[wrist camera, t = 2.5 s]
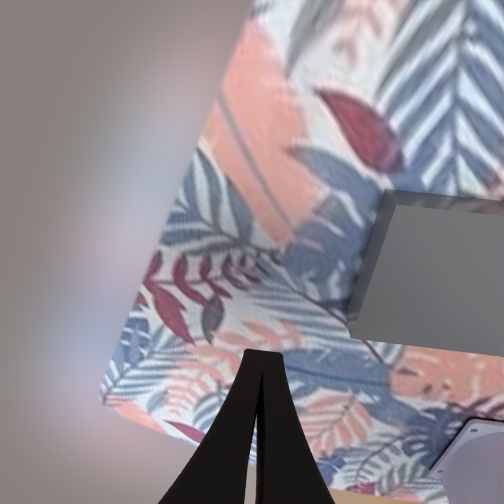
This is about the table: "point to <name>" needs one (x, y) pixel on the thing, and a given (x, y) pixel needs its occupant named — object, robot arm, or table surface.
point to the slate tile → (433, 274)
